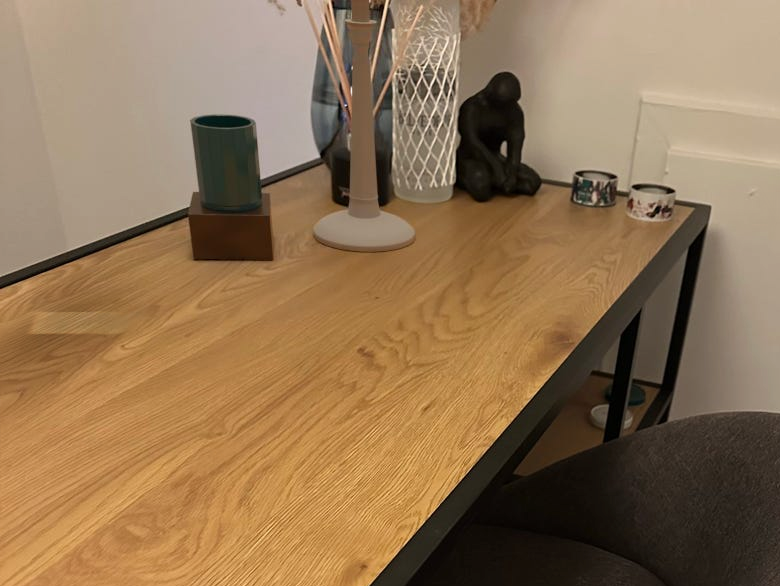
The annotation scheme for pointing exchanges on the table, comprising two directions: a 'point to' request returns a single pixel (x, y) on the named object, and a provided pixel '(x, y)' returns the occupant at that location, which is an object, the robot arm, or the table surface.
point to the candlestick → (362, 163)
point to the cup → (227, 162)
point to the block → (231, 232)
